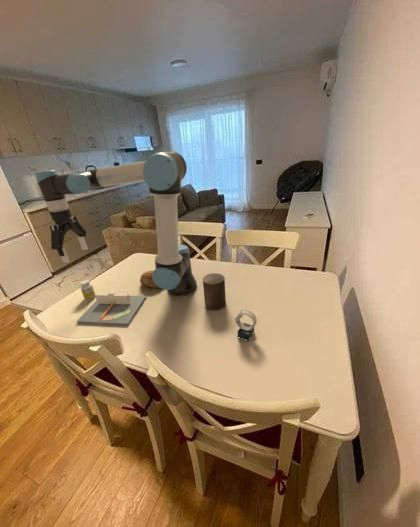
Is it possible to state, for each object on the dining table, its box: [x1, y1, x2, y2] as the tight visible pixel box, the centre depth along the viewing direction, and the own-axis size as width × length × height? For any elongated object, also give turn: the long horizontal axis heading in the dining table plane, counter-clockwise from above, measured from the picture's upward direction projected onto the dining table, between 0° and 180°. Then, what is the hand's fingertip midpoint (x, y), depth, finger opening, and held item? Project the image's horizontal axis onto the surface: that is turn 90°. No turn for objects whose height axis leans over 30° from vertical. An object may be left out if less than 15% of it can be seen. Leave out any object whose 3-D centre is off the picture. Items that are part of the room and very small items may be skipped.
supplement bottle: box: [80, 279, 96, 302], centre depth 119 cm, size 5×5×10 cm
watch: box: [234, 309, 258, 341], centre depth 88 cm, size 6×8×11 cm
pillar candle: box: [202, 272, 227, 311], centre depth 106 cm, size 10×10×15 cm
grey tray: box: [76, 295, 147, 327], centre depth 110 cm, size 24×20×1 cm
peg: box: [95, 290, 131, 318], centre depth 107 cm, size 16×13×6 cm
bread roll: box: [139, 270, 160, 289], centre depth 126 cm, size 10×15×8 cm, turn 66°
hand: (76, 255), depth 109 cm, fingers open, 13 cm apart
